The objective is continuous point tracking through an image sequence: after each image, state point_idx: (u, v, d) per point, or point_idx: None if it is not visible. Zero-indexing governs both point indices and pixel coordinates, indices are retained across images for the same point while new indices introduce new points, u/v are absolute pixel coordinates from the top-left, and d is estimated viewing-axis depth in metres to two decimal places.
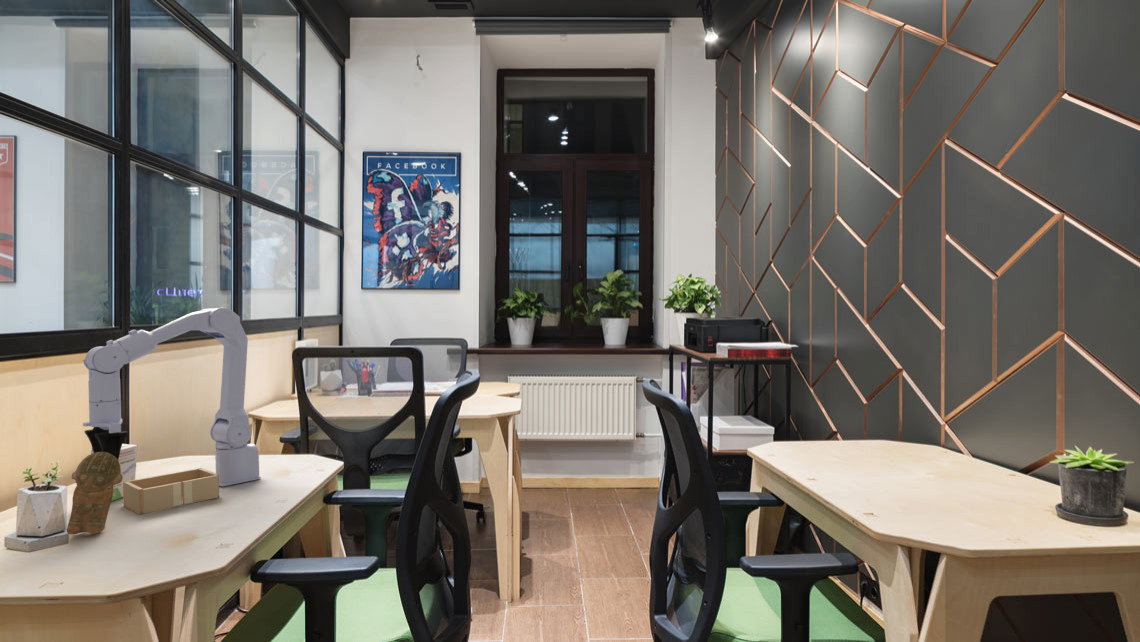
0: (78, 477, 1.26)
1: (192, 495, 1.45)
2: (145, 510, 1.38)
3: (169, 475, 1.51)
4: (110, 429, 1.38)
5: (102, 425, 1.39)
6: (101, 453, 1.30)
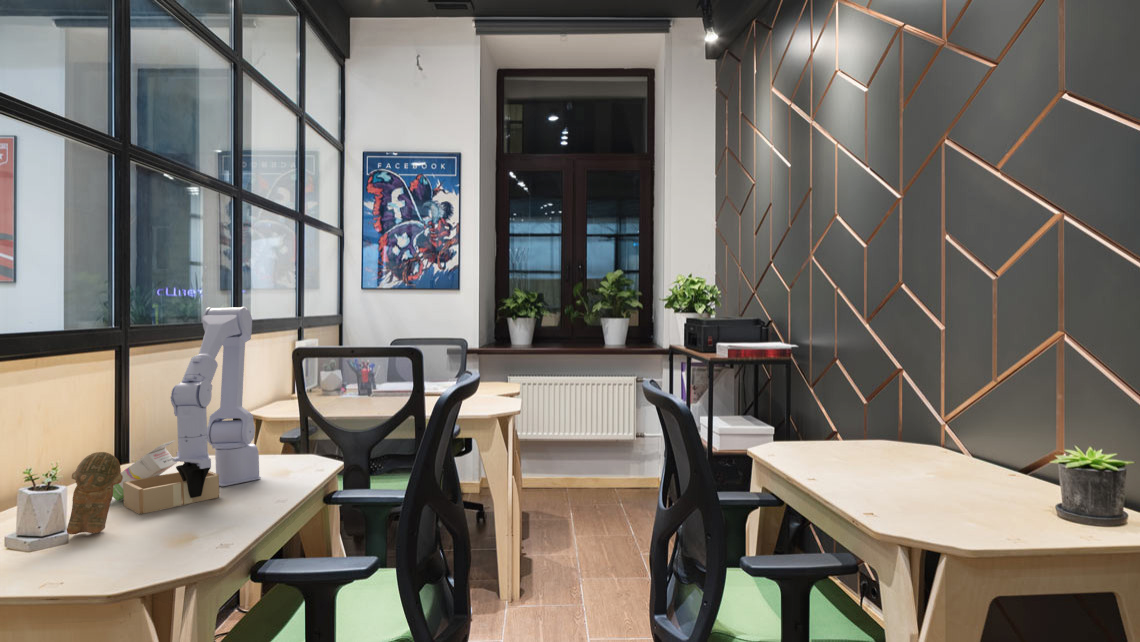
0: (78, 477, 1.26)
1: None
2: (145, 510, 1.38)
3: (169, 475, 1.51)
4: (201, 465, 1.40)
5: (192, 461, 1.41)
6: (101, 453, 1.30)
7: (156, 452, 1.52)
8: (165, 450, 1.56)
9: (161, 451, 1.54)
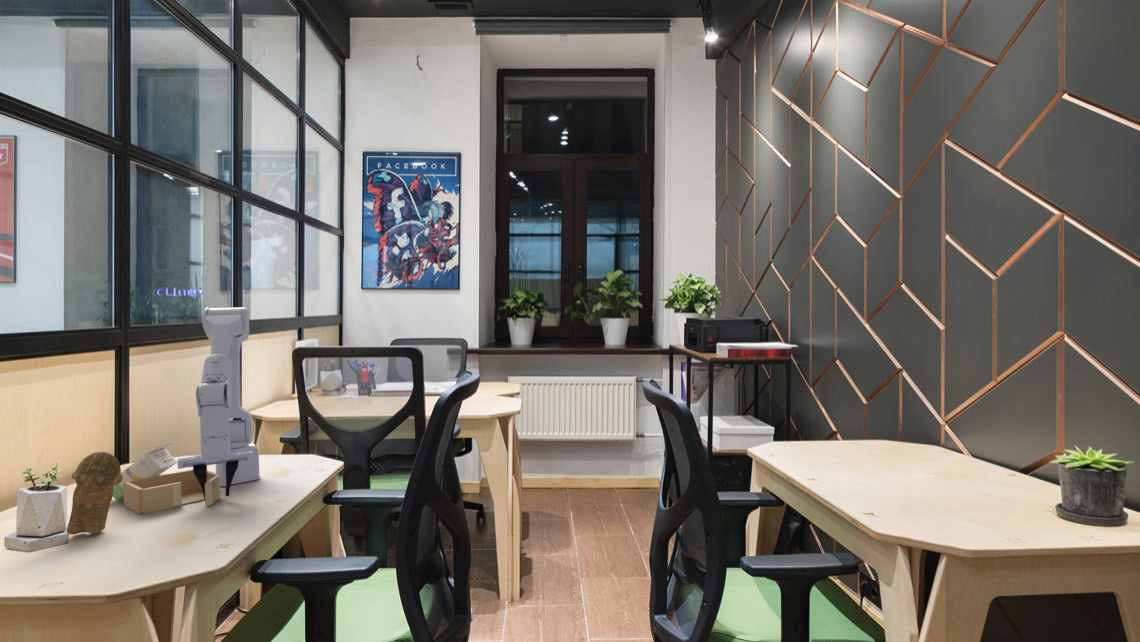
0: (78, 477, 1.26)
1: (212, 496, 1.44)
2: (145, 510, 1.38)
3: (169, 475, 1.51)
4: (251, 457, 1.47)
5: (238, 456, 1.45)
6: (101, 453, 1.30)
7: (156, 452, 1.52)
8: (165, 450, 1.56)
9: (161, 451, 1.54)
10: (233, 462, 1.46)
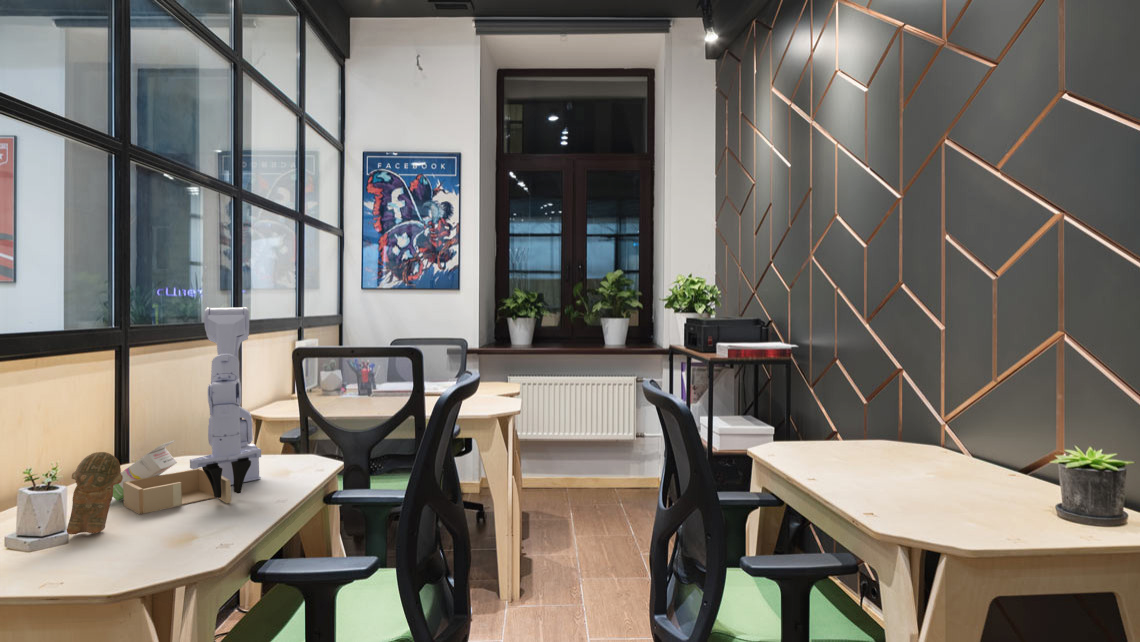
0: (78, 477, 1.26)
1: None
2: (145, 510, 1.38)
3: (169, 475, 1.51)
4: (260, 453, 1.51)
5: (249, 453, 1.48)
6: (101, 453, 1.30)
7: (156, 452, 1.52)
8: (165, 450, 1.56)
9: (161, 451, 1.54)
10: (244, 459, 1.48)
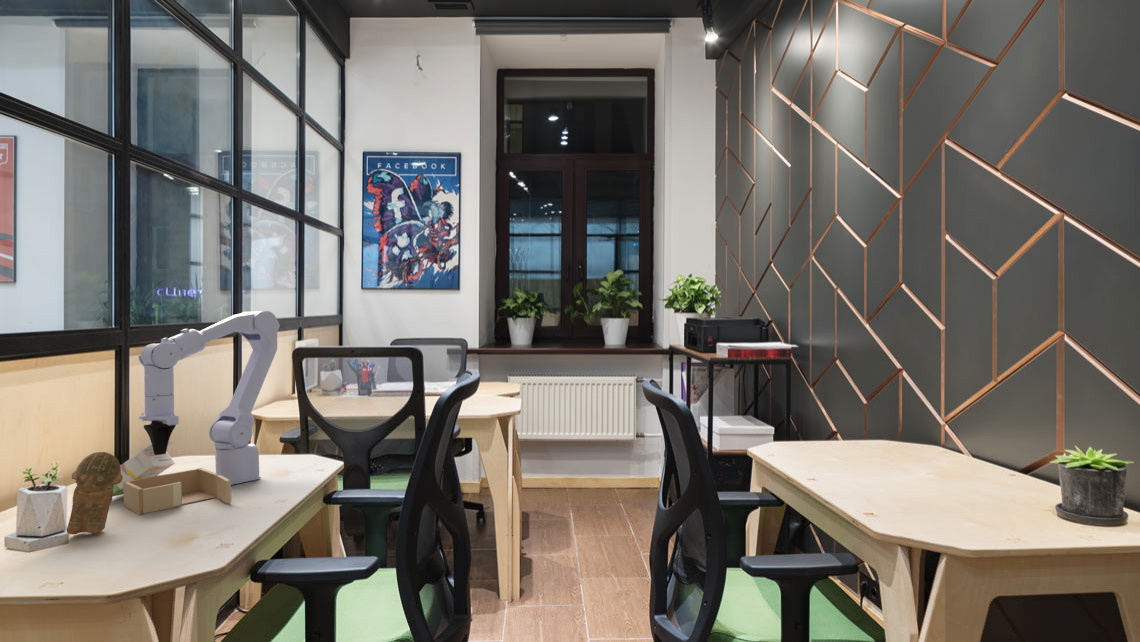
0: (78, 477, 1.26)
1: None
2: (145, 510, 1.38)
3: (169, 475, 1.51)
4: (169, 421, 1.45)
5: (160, 418, 1.46)
6: (101, 453, 1.30)
7: None
8: None
9: None
10: (158, 423, 1.49)
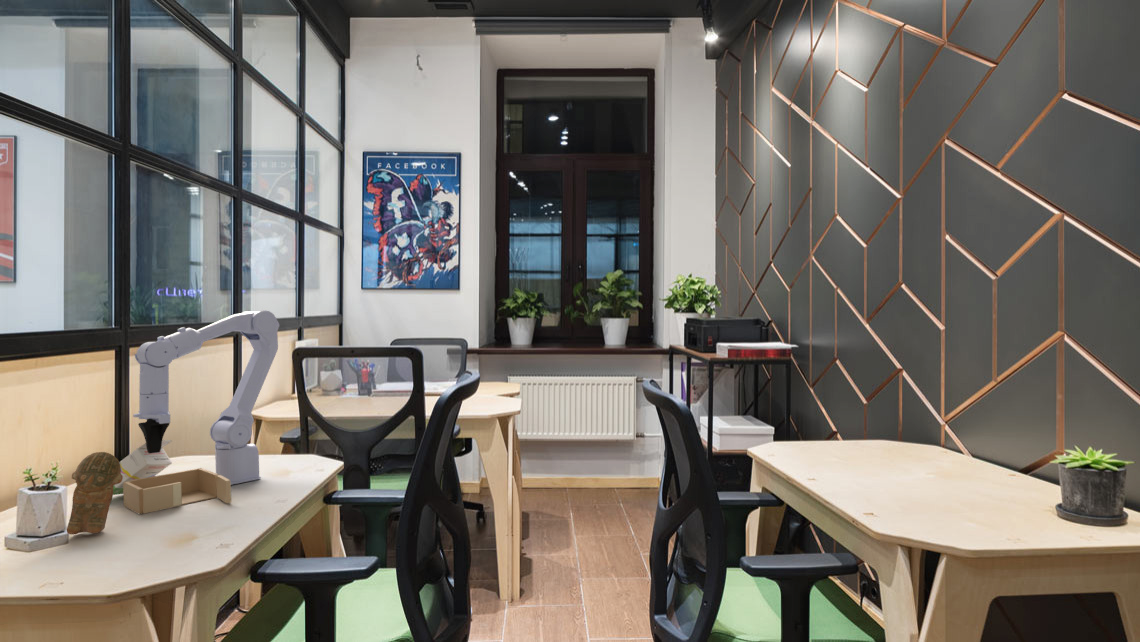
0: (78, 477, 1.26)
1: None
2: (145, 510, 1.38)
3: (169, 475, 1.51)
4: (160, 420, 1.45)
5: (152, 416, 1.46)
6: (101, 453, 1.30)
7: None
8: (162, 450, 1.57)
9: None
10: (151, 421, 1.49)
